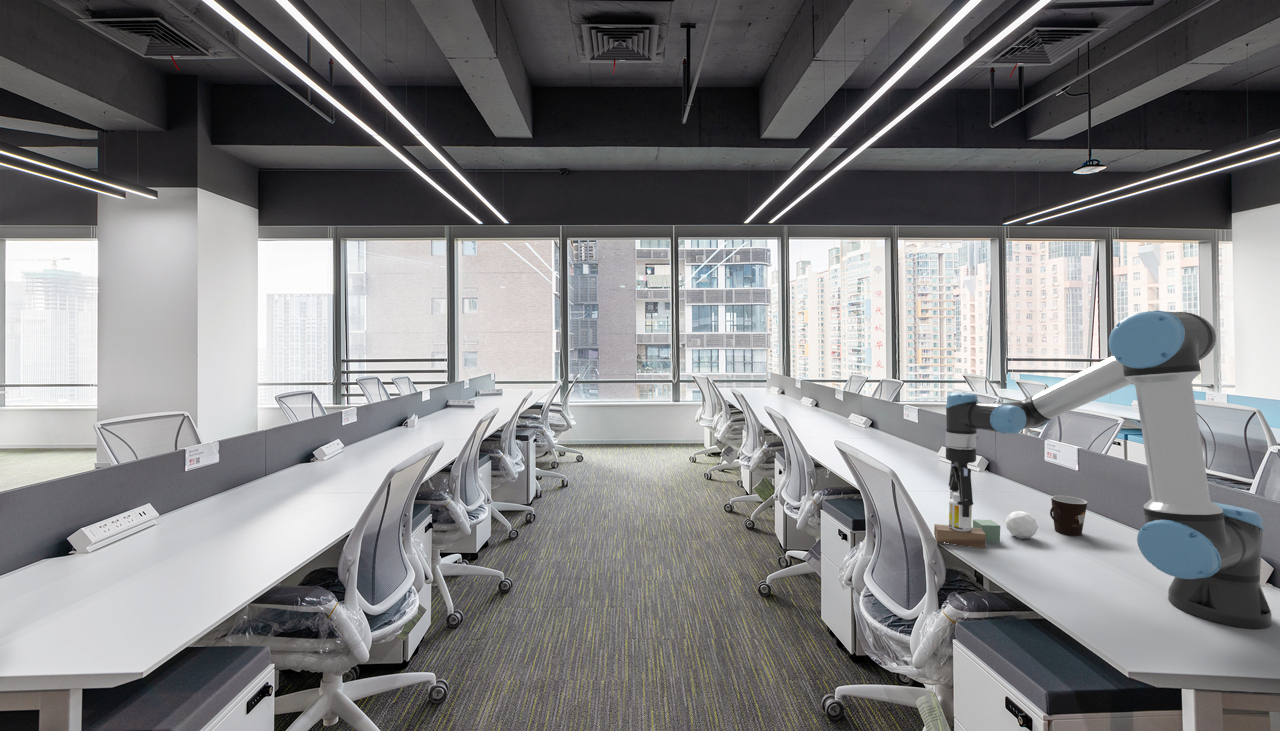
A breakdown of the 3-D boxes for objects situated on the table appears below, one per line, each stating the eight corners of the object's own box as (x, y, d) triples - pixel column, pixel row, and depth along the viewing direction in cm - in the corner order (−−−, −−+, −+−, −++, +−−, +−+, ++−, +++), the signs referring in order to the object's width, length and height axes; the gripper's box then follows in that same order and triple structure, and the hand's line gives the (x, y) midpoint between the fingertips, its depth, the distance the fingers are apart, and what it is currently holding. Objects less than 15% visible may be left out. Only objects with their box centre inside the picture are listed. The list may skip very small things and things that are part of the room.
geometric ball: (1025, 545, 161) (1043, 524, 160) (1025, 543, 155) (1044, 522, 154) (1000, 527, 166) (1017, 507, 165) (998, 524, 159) (1016, 504, 159)
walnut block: (985, 548, 151) (985, 534, 151) (937, 543, 156) (937, 529, 155) (981, 542, 156) (981, 528, 156) (934, 537, 160) (934, 523, 160)
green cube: (999, 542, 156) (1000, 525, 156) (981, 542, 156) (982, 525, 156) (990, 536, 161) (990, 519, 161) (972, 535, 161) (973, 519, 161)
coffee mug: (1073, 527, 167) (1074, 495, 167) (1093, 537, 159) (1094, 504, 158) (1033, 526, 169) (1034, 495, 168) (1051, 536, 160) (1052, 503, 160)
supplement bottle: (975, 531, 154) (976, 496, 153) (959, 533, 152) (960, 497, 152) (959, 524, 159) (960, 490, 159) (944, 526, 158) (944, 492, 157)
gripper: (986, 456, 142) (985, 536, 143) (966, 440, 165) (965, 508, 166) (954, 454, 144) (953, 532, 145) (938, 438, 168) (937, 506, 169)
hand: (959, 520), depth 156 cm, fingers open, 13 cm apart
